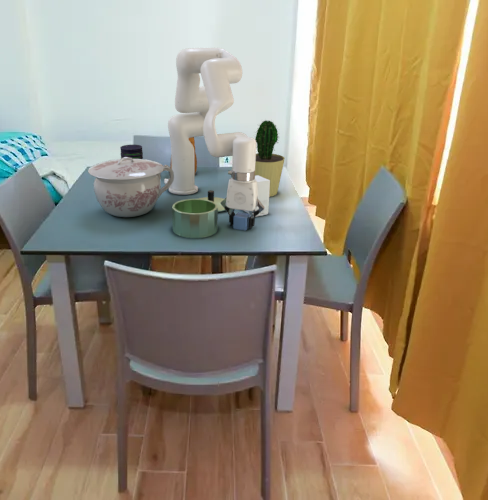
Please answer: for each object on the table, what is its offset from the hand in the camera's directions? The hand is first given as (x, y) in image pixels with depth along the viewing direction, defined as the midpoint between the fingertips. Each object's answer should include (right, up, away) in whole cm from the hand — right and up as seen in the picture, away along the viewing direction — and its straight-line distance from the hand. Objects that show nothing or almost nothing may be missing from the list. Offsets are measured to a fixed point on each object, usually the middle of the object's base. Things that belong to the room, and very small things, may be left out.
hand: (241, 225), depth 168 cm
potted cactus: (+13, +15, +35) cm, 40 cm away
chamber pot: (-41, +6, +16) cm, 44 cm away
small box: (+7, +5, +14) cm, 16 cm away
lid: (-10, +9, +20) cm, 24 cm away
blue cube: (0, 0, 0) cm, 1 cm away
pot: (-16, -1, -1) cm, 16 cm away
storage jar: (-44, +24, +54) cm, 73 cm away
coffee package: (-21, +28, +63) cm, 72 cm away
